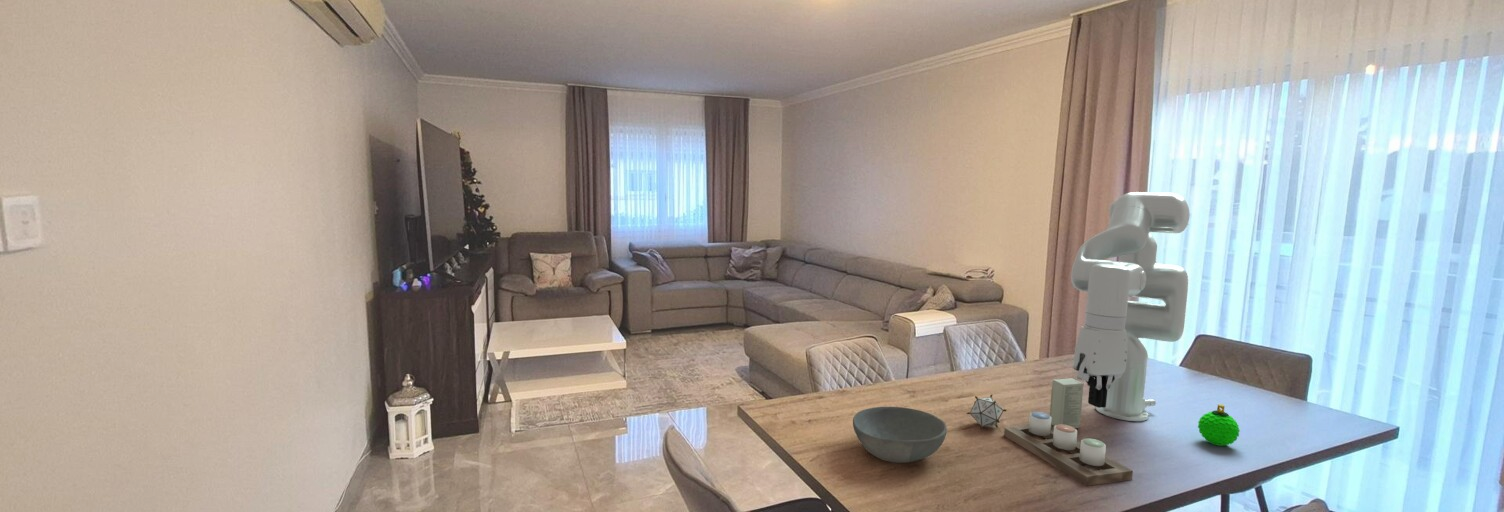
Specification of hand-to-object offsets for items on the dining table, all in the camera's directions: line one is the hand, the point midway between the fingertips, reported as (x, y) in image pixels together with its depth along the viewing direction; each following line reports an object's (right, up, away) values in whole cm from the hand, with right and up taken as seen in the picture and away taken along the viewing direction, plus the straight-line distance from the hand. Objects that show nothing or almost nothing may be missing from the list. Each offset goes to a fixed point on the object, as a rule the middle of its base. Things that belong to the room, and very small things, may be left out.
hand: (1096, 405), depth 131 cm
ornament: (+40, -14, +18) cm, 46 cm away
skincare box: (+7, -12, +28) cm, 31 cm away
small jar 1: (-4, -11, +17) cm, 21 cm away
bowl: (-41, -14, +8) cm, 44 cm away
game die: (-14, -12, +26) cm, 32 cm away
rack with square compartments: (-2, -14, +10) cm, 17 cm away
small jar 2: (-2, -12, +9) cm, 15 cm away
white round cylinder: (0, -13, +2) cm, 13 cm away
